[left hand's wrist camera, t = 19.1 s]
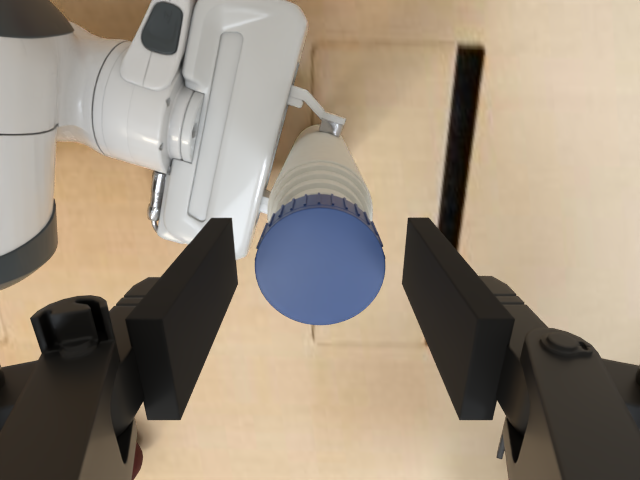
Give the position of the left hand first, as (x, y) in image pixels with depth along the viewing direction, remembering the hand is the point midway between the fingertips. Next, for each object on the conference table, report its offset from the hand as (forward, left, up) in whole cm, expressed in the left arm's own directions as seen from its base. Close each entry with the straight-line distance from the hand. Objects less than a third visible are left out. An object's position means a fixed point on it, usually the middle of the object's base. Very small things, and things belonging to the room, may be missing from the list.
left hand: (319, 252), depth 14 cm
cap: (0, 0, +1) cm, 1 cm away
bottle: (0, 0, -24) cm, 24 cm away
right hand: (-1, 0, -18) cm, 18 cm away
